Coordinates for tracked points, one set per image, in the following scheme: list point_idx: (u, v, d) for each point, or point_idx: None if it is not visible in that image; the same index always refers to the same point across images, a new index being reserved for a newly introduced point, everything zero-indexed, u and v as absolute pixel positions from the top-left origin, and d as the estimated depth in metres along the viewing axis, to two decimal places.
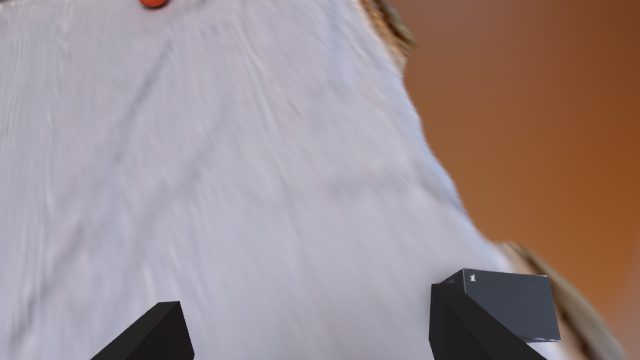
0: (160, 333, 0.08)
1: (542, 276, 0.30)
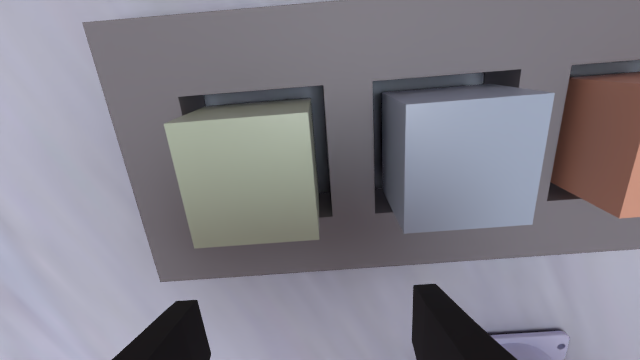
0: (179, 331, 0.08)
1: None
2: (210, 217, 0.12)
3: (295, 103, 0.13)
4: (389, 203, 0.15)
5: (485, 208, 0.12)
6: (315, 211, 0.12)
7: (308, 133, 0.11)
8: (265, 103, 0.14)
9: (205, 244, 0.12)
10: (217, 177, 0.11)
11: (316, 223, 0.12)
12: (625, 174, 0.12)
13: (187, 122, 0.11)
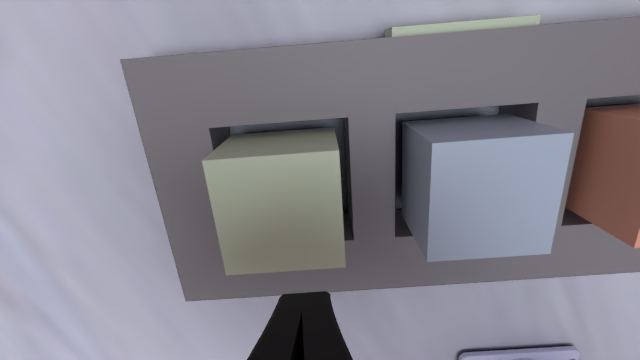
0: (302, 324, 0.08)
1: None
2: (242, 247, 0.13)
3: (321, 135, 0.14)
4: (409, 228, 0.15)
5: (505, 238, 0.12)
6: (343, 241, 0.12)
7: (338, 169, 0.11)
8: (291, 133, 0.14)
9: (236, 271, 0.13)
10: (250, 209, 0.12)
11: (343, 252, 0.13)
12: None
13: (224, 159, 0.11)
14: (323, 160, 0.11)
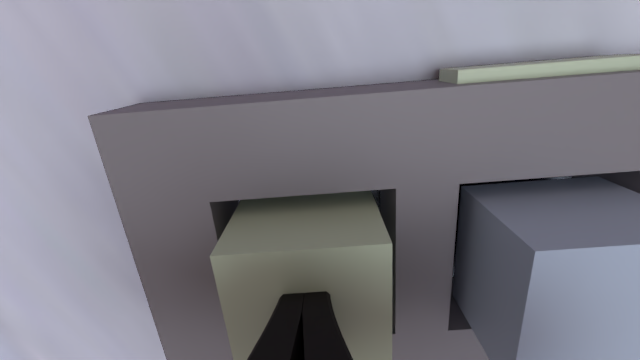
0: (301, 324, 0.08)
1: None
2: None
3: (358, 203, 0.11)
4: (469, 323, 0.12)
5: None
6: (390, 348, 0.10)
7: (390, 265, 0.09)
8: (318, 196, 0.12)
9: None
10: (272, 312, 0.09)
11: None
12: None
13: (239, 254, 0.09)
14: (370, 255, 0.09)
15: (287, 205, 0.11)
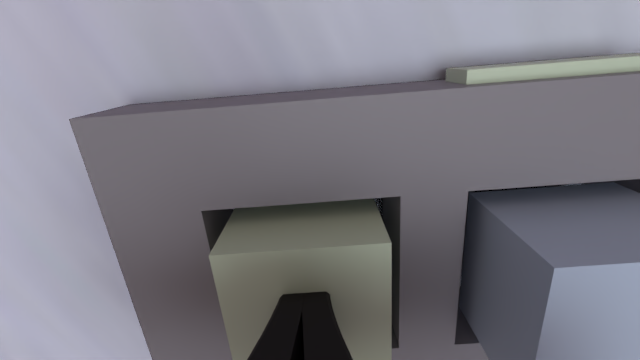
0: (302, 324, 0.08)
1: None
2: None
3: (357, 202, 0.11)
4: (477, 337, 0.11)
5: None
6: (389, 347, 0.10)
7: (389, 265, 0.09)
8: None
9: None
10: (271, 312, 0.09)
11: (389, 359, 0.10)
12: None
13: (238, 253, 0.09)
14: (370, 254, 0.09)
15: None
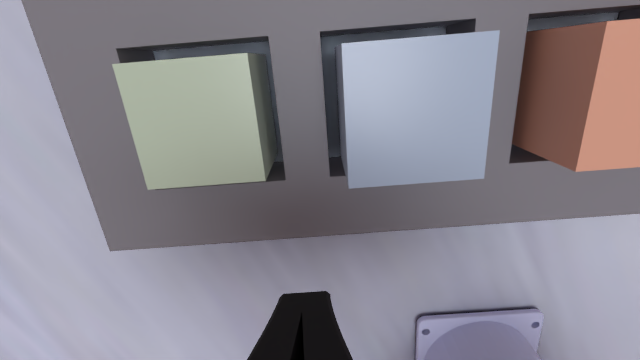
0: (301, 324, 0.08)
1: None
2: (161, 158, 0.13)
3: None
4: (343, 164, 0.14)
5: (433, 160, 0.11)
6: (260, 152, 0.13)
7: (249, 74, 0.12)
8: None
9: (157, 185, 0.13)
10: (165, 117, 0.12)
11: (262, 164, 0.13)
12: (581, 123, 0.11)
13: (134, 62, 0.11)
14: (232, 63, 0.11)
15: None
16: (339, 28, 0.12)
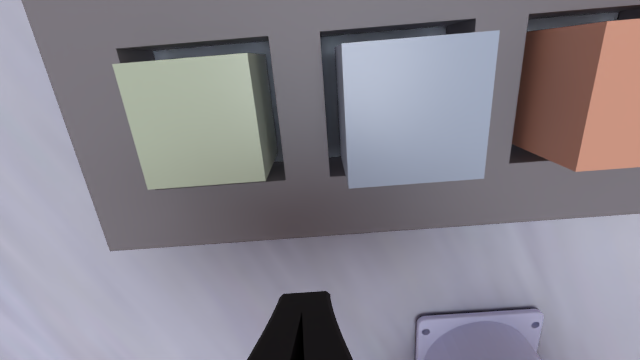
0: (301, 324, 0.08)
1: None
2: (161, 158, 0.13)
3: None
4: (343, 164, 0.14)
5: (433, 160, 0.11)
6: (260, 152, 0.13)
7: (249, 74, 0.12)
8: None
9: (157, 185, 0.13)
10: (165, 117, 0.12)
11: (262, 164, 0.13)
12: (580, 123, 0.11)
13: (134, 62, 0.11)
14: (232, 64, 0.11)
15: None
16: (339, 28, 0.12)
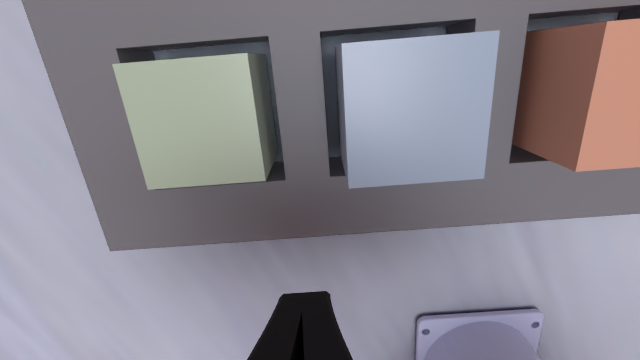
0: (301, 324, 0.08)
1: None
2: (161, 158, 0.13)
3: None
4: (343, 164, 0.14)
5: (433, 160, 0.11)
6: (260, 152, 0.13)
7: (249, 74, 0.12)
8: None
9: (157, 185, 0.13)
10: (165, 117, 0.12)
11: (262, 164, 0.13)
12: (580, 123, 0.11)
13: (134, 62, 0.11)
14: (232, 64, 0.11)
15: None
16: (339, 28, 0.12)
